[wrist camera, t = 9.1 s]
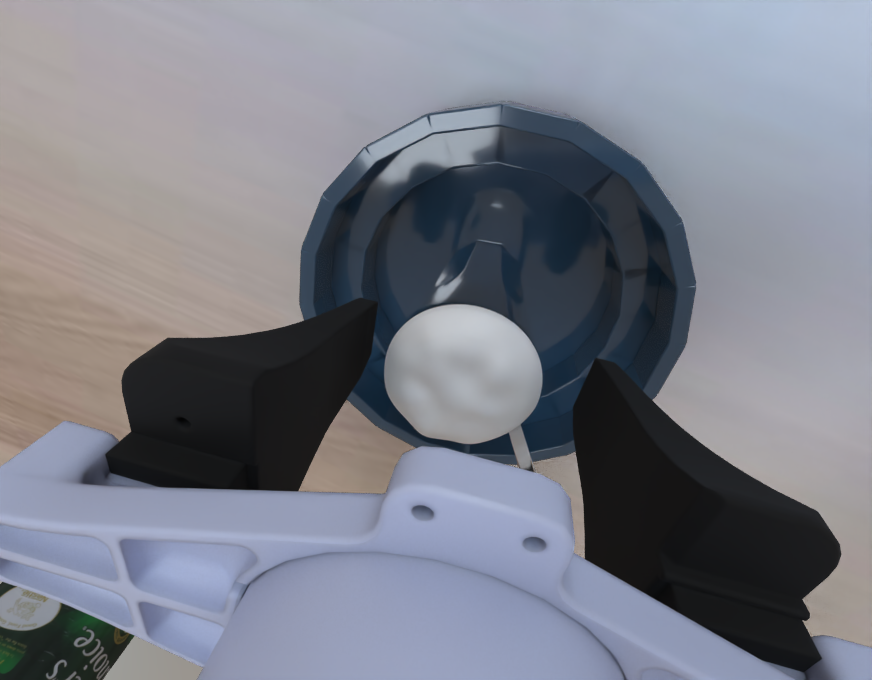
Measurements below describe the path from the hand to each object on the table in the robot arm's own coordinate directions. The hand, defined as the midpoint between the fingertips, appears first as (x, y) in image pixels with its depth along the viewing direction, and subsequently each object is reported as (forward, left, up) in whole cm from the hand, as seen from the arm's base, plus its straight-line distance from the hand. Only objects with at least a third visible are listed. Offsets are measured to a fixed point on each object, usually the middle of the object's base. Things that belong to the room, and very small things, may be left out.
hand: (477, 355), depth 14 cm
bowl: (0, 0, -7) cm, 7 cm away
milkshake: (0, 0, -6) cm, 6 cm away
